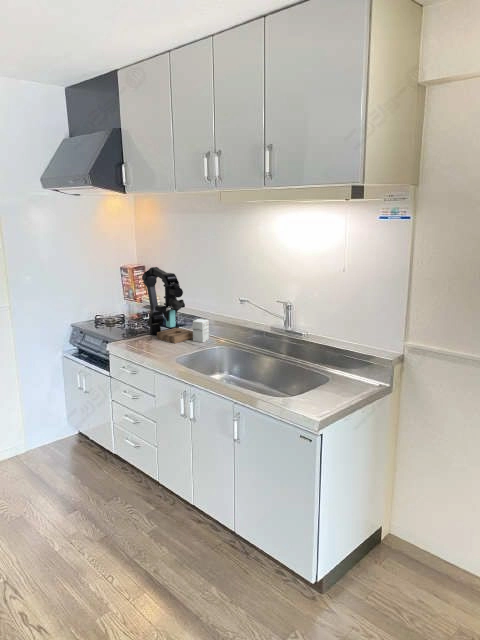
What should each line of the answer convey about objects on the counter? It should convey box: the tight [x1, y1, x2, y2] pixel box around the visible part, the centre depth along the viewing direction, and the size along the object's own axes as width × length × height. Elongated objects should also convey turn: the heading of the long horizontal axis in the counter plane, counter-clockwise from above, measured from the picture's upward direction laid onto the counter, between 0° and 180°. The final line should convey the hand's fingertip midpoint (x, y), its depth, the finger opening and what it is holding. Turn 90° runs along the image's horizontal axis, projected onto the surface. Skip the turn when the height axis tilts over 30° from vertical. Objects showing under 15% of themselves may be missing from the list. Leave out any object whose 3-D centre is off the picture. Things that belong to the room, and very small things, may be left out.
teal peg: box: [165, 308, 177, 329], centre depth 286 cm, size 4×4×10 cm
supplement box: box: [192, 318, 210, 343], centre depth 289 cm, size 7×7×13 cm
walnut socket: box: [156, 327, 193, 344], centre depth 295 cm, size 16×16×4 cm
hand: (170, 320), depth 286 cm, fingers closed on teal peg, 4 cm apart
